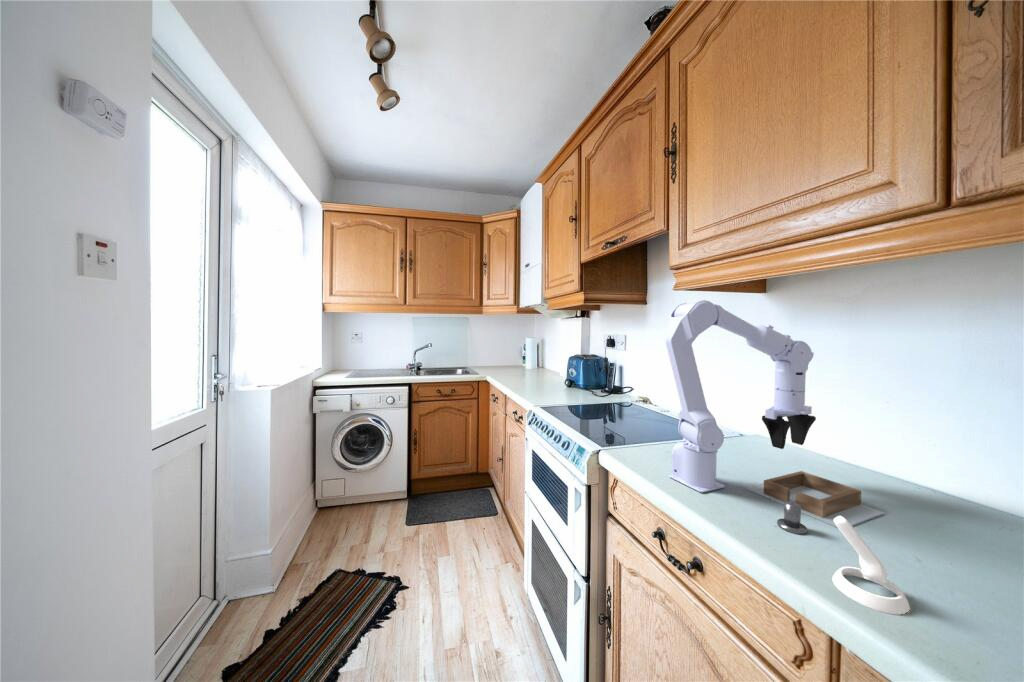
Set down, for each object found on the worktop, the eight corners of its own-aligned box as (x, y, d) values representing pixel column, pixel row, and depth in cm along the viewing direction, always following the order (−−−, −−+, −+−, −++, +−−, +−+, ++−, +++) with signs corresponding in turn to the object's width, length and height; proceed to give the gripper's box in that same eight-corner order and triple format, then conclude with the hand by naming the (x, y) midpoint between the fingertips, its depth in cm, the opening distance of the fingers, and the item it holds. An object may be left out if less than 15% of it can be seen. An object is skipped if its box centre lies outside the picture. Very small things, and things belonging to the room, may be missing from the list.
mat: (745, 488, 81) (745, 487, 81) (785, 478, 86) (785, 477, 86) (842, 529, 64) (842, 528, 64) (884, 514, 70) (884, 512, 70)
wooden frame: (763, 493, 78) (763, 480, 78) (801, 483, 83) (801, 471, 83) (822, 517, 68) (822, 502, 68) (860, 504, 73) (861, 490, 73)
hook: (786, 525, 56) (829, 506, 55) (845, 605, 52) (893, 586, 50) (805, 541, 49) (854, 520, 48) (875, 634, 45) (931, 614, 44)
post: (771, 523, 66) (772, 500, 66) (786, 519, 68) (786, 496, 67) (798, 536, 62) (799, 512, 62) (812, 531, 64) (813, 507, 63)
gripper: (789, 394, 76) (787, 455, 77) (827, 390, 82) (825, 447, 82) (756, 389, 83) (755, 445, 83) (793, 386, 88) (792, 438, 89)
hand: (787, 445), depth 83 cm, fingers open, 7 cm apart
